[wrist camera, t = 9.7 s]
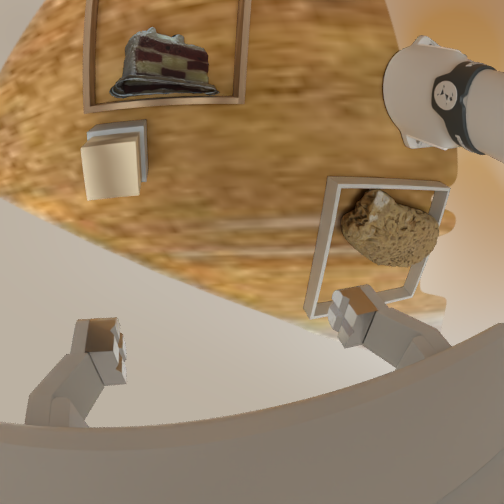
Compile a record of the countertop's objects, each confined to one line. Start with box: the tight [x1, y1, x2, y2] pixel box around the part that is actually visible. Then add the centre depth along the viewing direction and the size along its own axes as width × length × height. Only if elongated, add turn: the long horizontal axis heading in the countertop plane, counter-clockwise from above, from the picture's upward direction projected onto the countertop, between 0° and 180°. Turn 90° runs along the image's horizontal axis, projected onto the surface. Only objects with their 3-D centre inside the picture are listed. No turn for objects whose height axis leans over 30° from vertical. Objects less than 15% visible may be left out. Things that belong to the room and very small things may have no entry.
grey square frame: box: [303, 176, 450, 319], centre depth 51 cm, size 24×24×3 cm
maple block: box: [81, 131, 142, 201], centre depth 27 cm, size 5×5×5 cm
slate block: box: [87, 119, 148, 182], centre depth 31 cm, size 6×6×5 cm
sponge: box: [341, 188, 439, 267], centre depth 48 cm, size 13×8×20 cm
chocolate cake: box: [109, 27, 220, 98], centre depth 28 cm, size 10×7×12 cm
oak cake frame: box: [83, 0, 251, 114], centre depth 26 cm, size 17×17×3 cm
